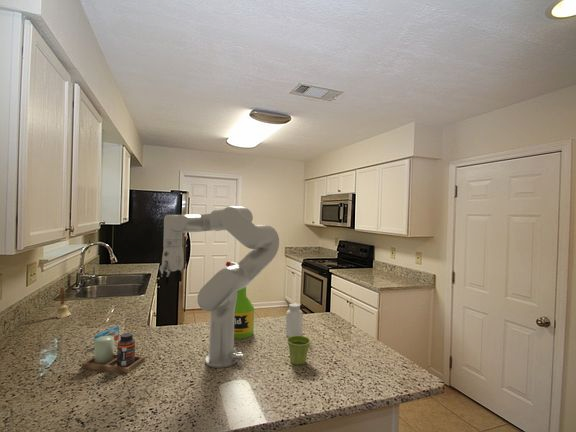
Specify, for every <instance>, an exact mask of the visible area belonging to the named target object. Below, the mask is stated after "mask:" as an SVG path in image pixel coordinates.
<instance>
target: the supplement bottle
mask: <svg viewBox="0 0 576 432" xmlns="http://www.w3.org/2000/svg"><path fill="white" fill-rule="evenodd" d="M119 338H120V340H119V341H118V342H117V344H116V345H117V346H116V347H117V349H116V350H117V351H116V353H117V366H121V367H128V366H130V365H131V364H133V363H134V361H135V356H136V340H135V339H134V338H133V333H131V332H127V333H122V334H121V335H120V337H119Z"/></svg>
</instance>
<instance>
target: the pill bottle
mask: <svg viewBox="0 0 576 432" xmlns="http://www.w3.org/2000/svg"><path fill="white" fill-rule="evenodd" d="M303 313H304V312H303V311H302V310H301V304H299V303H289V304H288V310H287V311H286V318H285V322H286V323H285V334H286V337H287V338H289V337H291V336H303V321H304V320H303V315H304V314H303Z"/></svg>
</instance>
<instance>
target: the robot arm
mask: <svg viewBox="0 0 576 432" xmlns="http://www.w3.org/2000/svg"><path fill="white" fill-rule="evenodd" d="M253 218H254V217H253V213H252V211H251V210H250V209H249V208H247V207H244V206H235V205H229V206H227V207H225V208H220V209H214V210H212V211H211V212H210V213H203V214H166V215H165V216H164V218H163V243H162V244H163V252H162V256H161V257H162V258H161V265H160V266H159V272H160V277H161V286H162V287H170V281H171V280H170V279H171V277H170V274H171V272H174V282H178V283H179V282H182V280H183V277H182V276H183V269H184V265H185V260H184V249H183V233H184V234H185V233H186V234H187V233H199V232H201V233H202V232H210V231H211V232H213V231H216V232H220V231H227V232H228V233H229V234H230V235H232V237H233V238H234V239H236V240H237V241H238V242H239V243H240V244H241V245H243V246H244V247H245V248H247V249H251V250H250V251H249V252H248V253H247V254H246V255H245V256H244V257H243V258H242V259H241V260H240V261H238V262H236V263H237V264H235V265H233V266H229V267H228V266H226V267H224V268H221V269H220V270H219V271H217V272H216V273H215V274H214V275H213V276H212V277H211V278H210V279H209V280H208V281H207V282H206V283H205V284H204V285H203V286H202V288H200V290H199V292H198V294H197V299H196V300H197V305H198V307H200V309H201V310H202V311H205V312H210V316H209V350H208V352H209V353H208V355H207V356H206V357H205V359H204V363H205V364H206V365H207V366H208V367H210V368H213V369H223V368H229V367H231V366H233V365H235V364H236V363H237V362H238V360H240V361H243V360H244V355H245V354H243V351H237V347H235V338H234V320H235V306H236V300H237V291H238V290H241V289H243V288H245V287H246V288H247V287H248V286H249V285H250V284H251V282H252V281H253V280H254V279H255V278H256V277H257V276H258V275H260V274H261V272H263V270H264V269H266V267H267V266H268V265H270V264H271V262H272V261H273V260H274V258H275V257H276V255H277V254H278V251H279V249H280V248H279V247H280V237H279V233H278V231H277V230H276V229H275V228H274V227H273V226H271V225H269V224H268V225H266V224H254V223H253Z"/></svg>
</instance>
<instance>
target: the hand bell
mask: <svg viewBox="0 0 576 432" xmlns="http://www.w3.org/2000/svg"><path fill="white" fill-rule="evenodd" d="M59 297H60V305H59V306H58V307H57V310H56V312H55V314H54V315H55V317H66V316H69V315H71V314H72V313H71V312H70V311H69V309H68V308H69V307H68V305H66V304H65V297H66V289H65V287H61V288H60V291H59ZM71 316H72V315H71ZM69 317H70V316H69ZM66 318H67V317H66Z"/></svg>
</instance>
